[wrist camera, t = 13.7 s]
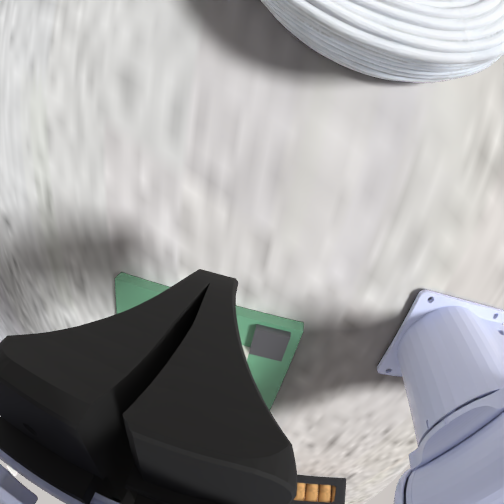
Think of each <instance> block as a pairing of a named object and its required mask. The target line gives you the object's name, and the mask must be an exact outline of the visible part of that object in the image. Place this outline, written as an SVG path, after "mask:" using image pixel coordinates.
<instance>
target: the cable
mask: <svg viewBox="0 0 504 504" xmlns="http://www.w3.org/2000/svg"><path fill="white" fill-rule="evenodd" d="M260 1H261V2H262V3H263V4H264V5H265V6H266V7H267V8H268V10H269V11H270V12H271V13H272V14H273V15H274V17H275V18H276V19H277V20H278V21H279V22H280V23H281V24H282V25H283V26H284V27H285V28H286V29H287V30H288V31H290V32H291V33H292V34H293V35H295V36H296V37H297V38H298V39H300V40H301V41H302V42H303V43H305V44H306V45H307V46H309V47H310V48H312V49H313V50H315V51H316V52H318V53H320V54H321V55H323V56H325V57H327V58H328V59H330V60H332V61H334V62H336V63H338V64H340V65H342V66H344V67H347V68H349V69H352V70H354V71H357V72H360V73H363V74H366V75H369V76H373V77H377V78H381V79H386V80H393V81H404V82H414V83H431V82H440V81H446V80H451V79H456V78H460V77H465V76H469V75H472V74H475V73H477V72H480V71H482V70H484V69H486V68H487V67H489V66H490V65H492V64H493V63H494V62H495V61H496V60H497V59H498V58H499V57H500V56H502V55H503V54H504V0H260Z"/></svg>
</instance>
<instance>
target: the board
mask: <svg viewBox="0 0 504 504" xmlns="http://www.w3.org/2000/svg"><path fill="white" fill-rule="evenodd" d="M168 288H170V287H168V286H164V285H161V284H158V283H154V282H151V281H148V280H145V279H141V278H138V277H135V276H132V275H129V274H126V273H122V272H121V273H120V274H119V275H118V276H117V277H116V278H115V291H116V309H117V314H118V313H121V312H123V311H126V310H128V309H131V308H133V307H135V306H137V305H139V304H141V303H143V302H145V301H147V300H149V299H151V298H153V297H155V296H157V295H158V294H160V293H162V292H163V291H165V290H167V289H168ZM236 315H237V323H238V329H239V334H240V338H241V343H242V346H243V350H244V353H245V357H246V360H247V363H248V365H249V368H250V371H251V374H252V376H253V378H254V381H255V383H256V385H257V387H258V389H259V391H260V393H261V395H262V398H263V400H264V402H265V403H266V405H267V407H268V409H269V411H270V409H271V406H272V404H273V402H274V400H275V398H276V395H277V393H278V391H279V389H280V386H281V384H282V382H283V379H284V377H285V375H286V372H287V370H288V368H289V365H290V363H291V361H292V358H293V356H294V353H295V351H296V349H297V346H298V344H299V341H300V339H301V336H302V334H303V328H304V323H303V322H299V321H295V320H290V319H286V318H282V317H278V316H274V315H270V314H266V313H262V312H258V311H254V310H250V309H246V308H243V307H239V306H236Z"/></svg>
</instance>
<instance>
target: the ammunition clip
mask: <svg viewBox="0 0 504 504" xmlns="http://www.w3.org/2000/svg"><path fill="white" fill-rule="evenodd" d="M345 490H346V478H329V477H315V476H304V475H297V495H296V497H295V498H294V500H293V501H292V502H291V503H289V504H345ZM304 497H305V499H304ZM317 499H318V502H317Z"/></svg>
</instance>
